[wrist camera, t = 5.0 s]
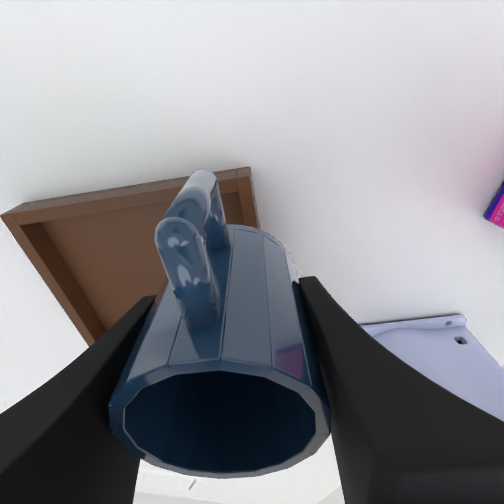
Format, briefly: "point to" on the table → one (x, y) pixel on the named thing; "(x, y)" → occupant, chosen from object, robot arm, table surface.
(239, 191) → the tray
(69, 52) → the table surface
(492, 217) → the supplement box
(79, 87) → the table surface
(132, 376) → the cup
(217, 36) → the table surface
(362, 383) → the robot arm
